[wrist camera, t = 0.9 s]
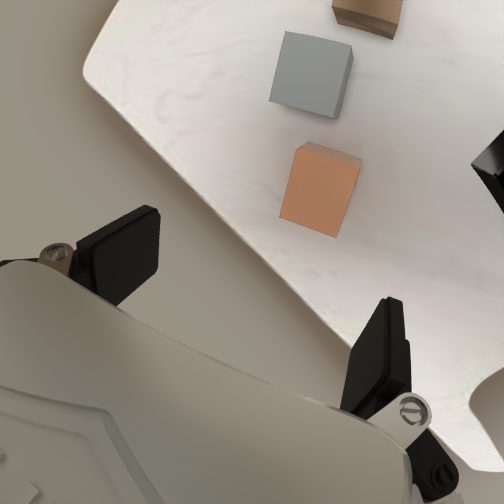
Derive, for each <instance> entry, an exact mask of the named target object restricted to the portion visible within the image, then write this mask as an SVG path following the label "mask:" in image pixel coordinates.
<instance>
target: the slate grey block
mask: <svg viewBox="0 0 504 504" xmlns="http://www.w3.org/2000/svg"><path fill="white" fill-rule="evenodd" d="M352 62H353V53H352V48H351V45H347V44H343V43H339V42H335V41H331V40H327V39H323V38H318V37H314V36H309V35H304V34H298V33H293V32H287V31H285V34H284V39H283V43H282V47H281V51H280V55H279V59H278V64H277V68H276V72H275V76H274V81H273V85H272V89H271V94H270V98H269V102H274V103H278V104H282V105H286V106H290V107H294V108H298V109H302V110H305V111H309V112H313V113H316V114H320V115H323V116H326V117H330V118H338V116H339V112H340V109H341V105H342V101H343V97H344V93H345V90H346V86H347V82H348V78H349V74H350V70H351V66H352Z"/></svg>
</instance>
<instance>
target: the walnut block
mask: <svg viewBox="0 0 504 504" xmlns="http://www.w3.org/2000/svg"><path fill="white" fill-rule="evenodd" d="M402 1H403V0H333V3H332V8H333V11H334V14H335V17H336V20H337V23H338V24H341V25H345V26H349V27H353V28H357V29H360V30H364V31H367V32H371V33H374V34H377V35H380V36H383V37H387V38H389V39H392V40H393V37H394V35H395V32H396V29H397V26H398V23H399V17H400V12H401V7H402Z"/></svg>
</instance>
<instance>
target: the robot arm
mask: <svg viewBox="0 0 504 504" xmlns="http://www.w3.org/2000/svg"><path fill="white" fill-rule="evenodd" d="M160 219H161V217H160V214H159V213H158V210H157V209H156V208H153V207H151V206H148V205H143V206H142V207H139V208H137V209H135V210H134V211H132V212H130V213H128V214H126V215H124V216H122V217H120V218H118V219H117V220H115V221H113V222H111V223H109V224H108V225H106V226H104V227H102V228H100V229H99V230H97V231H95V232H93V233H92V234H90V235H88V236H86V237H85V238H83V239H81V240H80V241H78V242H77V243H76V246H77V249H76V250H75V251H73V248H72V247H71V246H70V245H69V244H65V243H54V244H51V245H49V246H47V247H45V248H44V249H43V250H42V251H41V253H40V255H39V258H31V259H17V260H3V261H1V262H0V504H464V503H463V500H462V497H461V495H460V493H459V494H456V492H455V488H456V487H457V484H458V481H459V474H458V469H457V468H456V466H455V464H454V463H453V461H452V460H451V459H450V457H449V456H448V455H447V453H446V452H445V451H444V449H443V448H442V447H441V445H440V444H439V443H438V441H437V440H436V439H435V437H434V436H433V435H432V434H431V432H430V431H429V430H428V428H427V427H428V426H429V424H430V423H431V418H432V413H431V409H430V407H429V405H428V403H427V402H426V400H424V399H423V398H422V397H421V396H419V395H417V394H415V393H412V385H411V357H410V344H409V341H408V340H406V339H405V325H404V313H403V303H402V301H400V300H397V299H394V298H392V297H387V299H384V298H382V299H381V301H380V302H379V304H378V306H377V308H376V309H375V311H374V313H373V314H372V316H371V318H370V320H369V321H368V323H367V325H366V326H365V328H364V330H363V331H362V333H361V335H360V336H359V338H358V339H357V341H356V343H355V344H354V346H353V348H352V350H351V353H350V357H349V363H348V369H347V374H346V380H345V386H344V390H343V395H342V400H341V405H340V409H338V408H335V407H332V406H330V405H327V404H324V403H322V402H319V401H317V400H314V399H311V398H308V397H306V396H303V395H300V394H297V393H295V392H293V391H290V390H288V389H285V388H282V387H280V386H278V385H275V384H272V383H270V382H268V381H265V380H263V379H260V378H258V377H256V376H253V375H251V374H249V373H246V372H244V371H241V370H239V369H237V368H235V367H233V366H230V365H228V364H226V363H224V362H222V361H219V360H217V359H215V358H213V357H211V356H208V355H206V354H204V353H202V352H200V351H198V350H196V349H194V348H192V347H190V346H188V345H186V344H184V343H182V342H180V341H178V340H176V339H174V338H172V337H170V336H168V335H166V334H165V333H163V332H161V331H159V330H157V329H155V328H153V327H151V326H149V325H148V324H146V323H144V322H142V321H140V320H139V319H137V318H135V317H133V316H132V315H129V314H128V313H126V312H125V311H123V310H121V309H119V308H117V307H116V306H117V305H118V304H120V303H121V302H122V301H123V300H124V299H125V298H127V297H128V296H129V295H130V294H131V293H132V292H134V291H135V290H136V289H137V288H138V287H139V286H140V285H142V284H143V283H144V282H145V281H146V280H147V279H149V278H150V277H151V276H152V275H154V274H155V272H156V271H157V268H158V255H159V234H160Z"/></svg>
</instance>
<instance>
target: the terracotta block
mask: <svg viewBox="0 0 504 504" xmlns="http://www.w3.org/2000/svg"><path fill="white" fill-rule="evenodd" d="M360 164H361V159H358V158H355V157H352V156H349V155H347V154H344V153H341V152H338V151H335V150H332V149H329V148H326V147H322V146H319V145H316V144H313V143H310V142H308V143H306V144H304V145H302V146H300V147H298V148H297V150H296V154H295V158H294V162H293V166H292V170H291V174H290V178H289V181H288V185H287V189H286V193H285V197H284V200H283V204H282V208H281V212H280V215H279V217H280V218H282V219H285V220H288V221H291V222H294V223H296V224H299V225H302V226H305V227H308V228H310V229H313V230H316V231H319V232H321V233H324V234H327V235H329V236H332V237H335V238H336V237H337V234H338V232H339V229H340V226H341V223H342V221H343V218H344V215H345V212H346V209H347V207H348V204H349V201H350V198H351V195H352V192H353V189H354V186H355V183H356V180H357V177H358V174H359V171H360Z"/></svg>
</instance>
